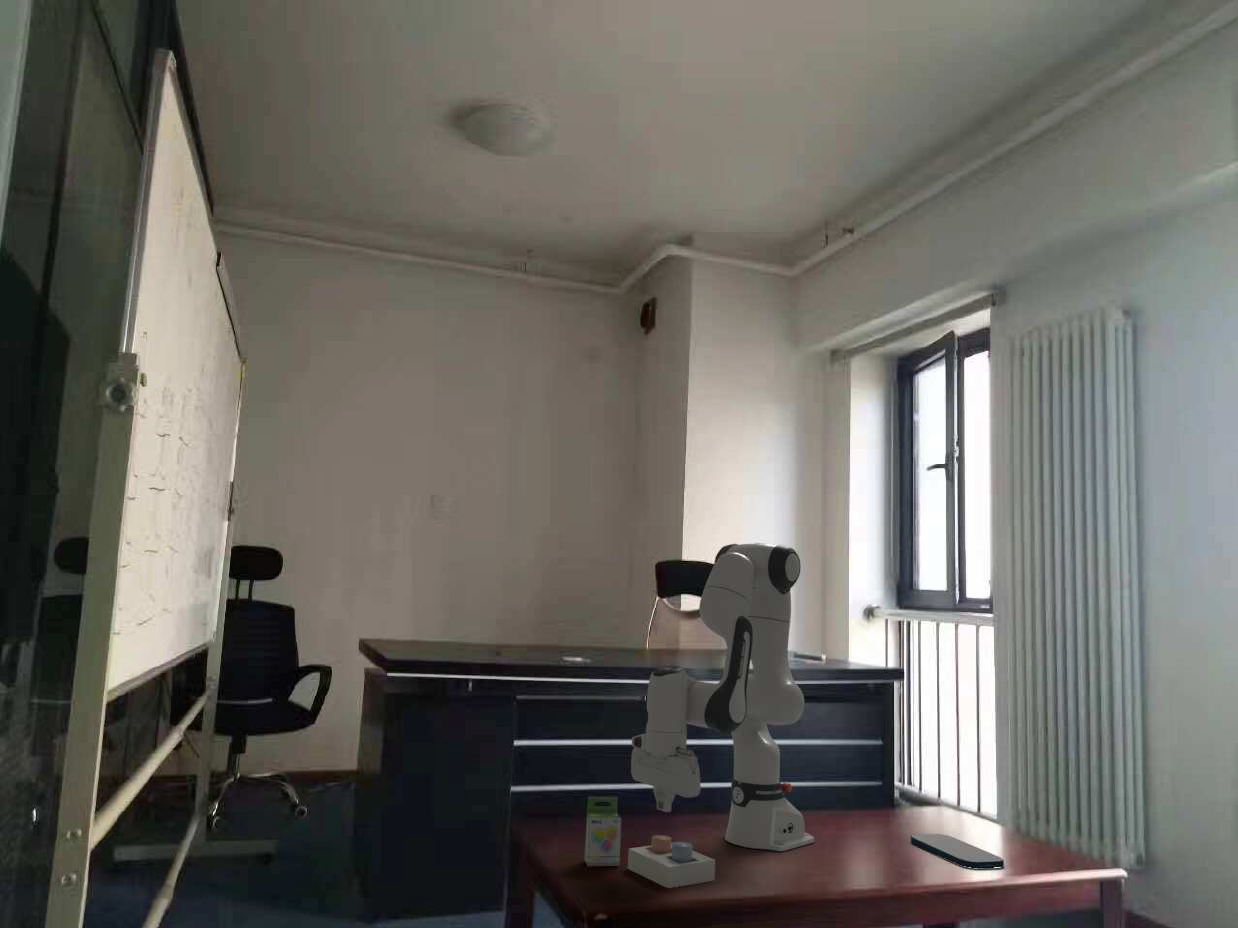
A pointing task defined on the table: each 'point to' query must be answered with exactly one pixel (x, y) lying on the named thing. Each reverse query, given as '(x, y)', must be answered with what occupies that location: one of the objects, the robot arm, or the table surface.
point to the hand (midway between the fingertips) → (663, 810)
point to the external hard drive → (956, 851)
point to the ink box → (602, 833)
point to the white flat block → (670, 867)
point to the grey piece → (682, 852)
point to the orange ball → (661, 844)
